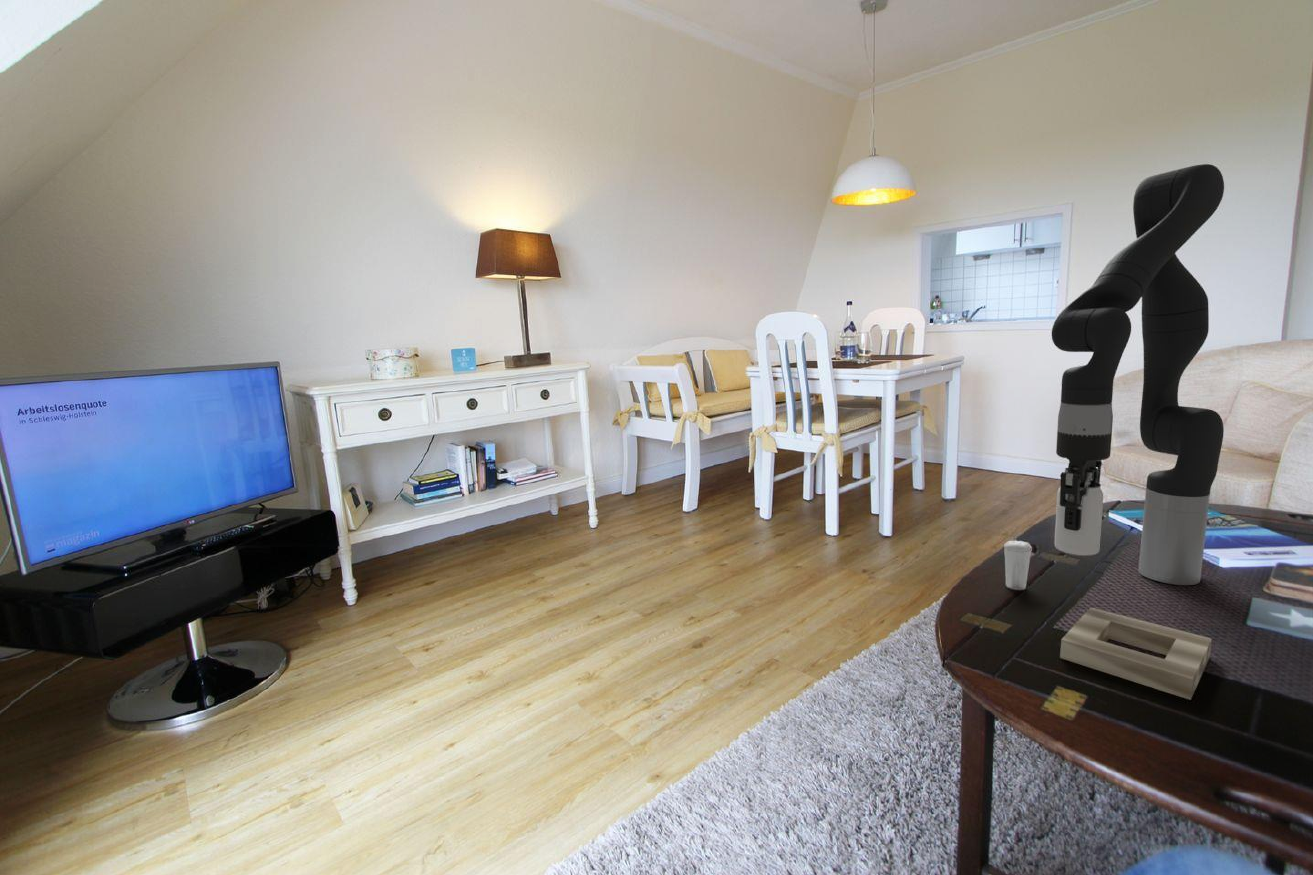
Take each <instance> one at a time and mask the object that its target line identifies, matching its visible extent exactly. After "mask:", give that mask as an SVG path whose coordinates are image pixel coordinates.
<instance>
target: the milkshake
mask: <svg viewBox="0 0 1313 875" xmlns="http://www.w3.org/2000/svg"><path fill="white" fill-rule="evenodd" d="M1012 533H1013V535H1012V536H1013V540H1008V541H1006V542H1005V543H1004V544H1003V549H1004V550H1003V552H1004V568H1005V574H1004V575H1005V586H1006V588H1008V589H1010V590H1015V591H1024V590H1025V589H1026V588H1027V582H1028V575H1029V569H1030V568H1029V567H1030V561H1031V558H1032V557H1031V556H1032V551H1033V547H1032V546H1031V544H1030V543H1029V542H1027V541H1022V540H1017V532H1016V531H1013V532H1012Z"/></svg>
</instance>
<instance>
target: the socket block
mask: <svg viewBox="0 0 1313 875" xmlns="http://www.w3.org/2000/svg"><path fill="white" fill-rule="evenodd" d="M1109 640H1111V641H1115V642H1119V643H1122V644H1125V645H1129V646H1132V647H1136V648H1138V649H1143V650H1147V651H1151V652H1153V653H1156V654H1160V655H1164V656H1166V657H1165V658H1163V657H1162V658H1161V657H1158V656H1156V655H1152V654H1151V655H1150V654H1148V653H1144V652H1140V651H1137V650H1134V649H1130V648H1127V647H1123V646H1120V645H1116V644H1113V643H1110V642H1108V641H1109ZM1212 642H1213V641H1212V638H1210V637H1206V636H1203V635H1199V634H1195V633H1192V632H1188V631H1184V630H1180V629H1175V628H1173V627H1169V626H1164V625H1161V624H1157V623H1153V622H1149V621H1145V620H1143V619H1142V620H1141V619H1137V618H1134V617H1129V616H1125V615H1121V614H1119V613H1113V612H1111V611H1106V610H1102V609H1098V608H1096V607H1095V608H1094V607H1089V609H1087V610H1086V612H1085V613H1084V614H1083V615H1081V617H1080V618H1079V619H1078V621H1077V622H1076V623H1075V624H1074V625H1073V626H1072V627H1071V628H1070V629H1069V631H1068V632H1067V633H1066V634H1065V635H1064V636H1063V637H1062V638H1061V640H1060V651H1059V652H1060V653H1059V658H1060V659H1062V660H1065V661H1069V662H1071V663H1074V664H1078V665H1081V666H1084V667H1086V668H1090V669H1093V670H1097V671H1100V672H1102V673H1106V674H1109V675H1111V676H1115V677H1119V678H1122V679H1124V680H1127V681H1131V682H1134V683H1136V684H1140V685H1143V686H1145V687H1150V688H1153V689H1155V690H1157V691H1161V692H1165V693H1168V694H1171V695H1173V696H1177V697H1180V698H1184V699H1186V700H1190V701H1191V700H1192V698H1193V695H1194V693H1195V691H1196V689H1197V687H1198V684H1199V682H1200V681H1201V678H1202V675H1203V673H1204V672H1205V669H1206V666H1207V664H1208V662H1209V660H1210V656H1211V648H1212Z"/></svg>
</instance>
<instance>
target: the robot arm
mask: <svg viewBox="0 0 1313 875" xmlns="http://www.w3.org/2000/svg"><path fill="white" fill-rule="evenodd" d="M1224 193H1225V180H1224V176H1223V174H1222V172H1221V170H1220V169H1219V168H1218V167H1217V166H1215V165H1213V164H1211V163H1210V164H1208V163H1205V164H1203V163H1202V164H1195V165H1191V166H1187V167H1183V168H1179V169H1174V170H1171V171H1167V172H1166V171H1165V172H1163V173H1159V174H1155V175H1151V176H1148V177H1146V178H1144V179H1142V180H1141V181H1140V182H1139V184H1138V185H1137V186H1136V189H1135V192H1134V195H1133V202H1132V203H1133V206H1132V211H1133V222H1134V228H1135V229H1134V230H1135V236H1136V239H1134V241H1132V242H1131V243H1129V244H1127V245H1126V246H1124V247H1123V248H1122V249H1121V250H1120V251H1119V252H1117V253H1116V254H1115V255H1114V256H1113V257H1112V258H1111V259H1110V260H1109V262H1107V263H1106V265H1105V267H1104V268H1103V269H1102V271H1101V272H1100V273H1099V275H1098V277H1097V278H1096V280H1095V281H1094V283H1093V284H1092V286H1090V287H1089V288H1087V289H1086V290H1085V291H1084V292H1083V293H1081V294H1080V295H1078V297H1077V298H1075V299H1074V300H1073V301H1072V302H1070V303H1069V304H1068V305H1067V306H1066V307H1065V308H1063V310H1062V311H1061V312H1060V313H1059V314H1058V316H1057V317H1056V319H1055V320H1054V322H1053V326H1052V329H1051V340H1052V343H1053V344H1054V346H1055V347H1056V348H1057V349H1058V350H1061V351H1063V352H1067V353H1092V355H1091V358H1090V359H1089V361H1088V363H1087V364H1085V365H1078V366H1074V367H1070V368H1067V369H1066V370H1064V372H1063V373H1062V378H1061V391H1060V393H1061V394H1060V403H1059V404H1060V406H1059V411H1058V416H1057V430H1056V431H1057V432H1056V447H1055V448H1056V449H1055V450H1056V451H1055V452H1056V455H1057V456H1058V457H1060V458H1063V459H1067V460H1068V464H1067V466H1068V467H1065V469H1064V472H1063V471H1062V472H1061V473H1060V486H1059V487H1060V506H1063V507H1065V519H1064V527H1065V529H1068V530H1074V531H1078V530H1079V529H1080V528H1081V512H1082V508H1083V498H1084V497H1086V496H1087V495H1088V492H1089V488H1090V484H1091V482H1092V484H1095V485H1096V482H1097V483H1099V484H1101V483H1100V482H1101V471H1102V465H1103V462H1102V461H1104V460H1107V459H1109V458H1110V456H1111V452H1112V450H1111V449H1112V436H1113V421H1114V420H1113V419H1114V418H1113V417H1114V414H1113V393H1114V392H1113V391H1114V379H1115V377H1116V373H1117V370H1118V369H1119V368H1118V367H1119V364H1120V363H1121V359H1122V356H1123V354H1124V353H1125V352H1124V351H1126V350H1125V349H1126V347H1127V345H1128V342H1129V340H1130V337H1131V334H1132V323H1131V318H1130V316H1129V314H1127V312H1129V311H1131V310H1132V309H1134V307H1135V306H1136V305H1137V304H1139V302H1140V300H1141V329H1142V330H1141V333H1142V344H1143V382H1142V394H1141V396H1142V397H1141V407H1140V418H1139V432H1140V439H1141V442H1142V444H1143V445H1144V446H1145V448H1147V449H1148V450H1150V451H1153V452H1156V453H1161V454H1166V455H1173V456H1177V457H1176V463H1175V465H1174V467H1172V468H1170V469H1164V470H1157V471H1152V472H1150V473H1149V474H1148V476H1147V479H1146V484H1145V485H1146V486H1145V487H1146V488H1145V495H1144V496H1145V498H1144V508H1143V517H1142V518H1143V520H1142V531H1141V541H1140V549H1139V550H1140V551H1139V560H1138V569H1137V571H1138V573H1139V574H1140V575H1141V576H1143V577H1145V578H1148V579H1150V580H1153V581H1156V582H1160V583H1163V584H1169V585H1176V586H1193V585H1197V584H1199V583H1200V582H1201V576H1202V567H1203V559H1204V550H1205V543H1206V542H1205V541H1206V533H1207V525H1208V524H1207V523H1208V514H1209V507H1210V506H1209V504H1210V503H1209V502H1210V496H1211V489H1212V485H1213V484H1214V481H1215V479H1216V476H1217V473H1218V468H1219V462H1220V455H1221V452H1222V451H1221V450H1222V446H1223V441H1224V440H1223V439H1224V421H1223V419H1222V417H1221V415H1220V414H1219V413H1218V412H1217V411H1215V410H1213V409H1209V408H1203V407H1195V406H1194V407H1193V406H1184V405H1183V406H1181V405H1179V398H1178V397H1179V396H1178V394H1179V388H1180V387H1179V386H1180V381H1181V378H1182V376H1183V374H1184V372H1185V371H1186V369H1187V368H1188V366H1189V364H1190V363H1191V362H1192V361H1193V359H1194V358H1195V357H1196V356H1197V354H1198V353H1199V351H1200V350H1201V348H1202V347H1203V345H1204V344H1205V343H1206V340H1207V338H1208V335H1209V331H1210V330H1209V325H1210V324H1209V320H1210V319H1209V314H1210V313H1209V310H1210V309H1209V299H1208V298H1209V297H1208V294H1207V293H1206V291H1205V290H1204V288H1203V286H1202V285H1201V283H1199V281H1198V280H1197V279H1196V277H1195V276H1194V275H1193V274H1192V273H1191V272H1190V271H1189V270H1188V269H1187V267H1185V265H1184V264H1183V263H1182V261H1180V259H1179V257H1178V256H1177V253H1178V250H1180V249H1181V247H1182V246H1184V245H1185V243H1186V242H1188V240H1190V239H1191V238H1192V237H1193V236H1194V234H1196V232H1198V230H1199V229H1200V228H1201V227H1202V226H1203V225H1204V224H1205V223H1206V222H1207V221H1209V219H1210V218H1211V217H1213V215H1214V214H1215V212H1216V211H1217V209H1218V208H1219V206H1220V204H1221V202H1222V200H1223V197H1224ZM1080 487H1084V489H1083V490H1081V491H1080ZM1070 495H1074V501H1072V500H1069V496H1070Z"/></svg>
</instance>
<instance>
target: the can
mask: <svg viewBox="0 0 1313 875" xmlns="http://www.w3.org/2000/svg"><path fill="white" fill-rule="evenodd" d="M1101 486H1102V485H1101V483H1097V482H1096V485H1095V484H1092V482H1091V484H1090V488H1089V492H1088V495H1087V496H1086V497H1084V498H1083V508H1082V512H1081V528H1080V529H1079V530H1078V531H1074V530H1068V529H1065V527H1064V519H1065V507H1063V506H1060V486H1059V487H1058V489H1057V495H1056V508H1055V509H1056V511H1055V528H1054V529H1055V530H1054V547H1055V548H1056V550H1058V551H1059V552H1061V553H1063V554H1067V555H1071V556H1076V557H1077V556H1078V557H1091V556H1093V557H1094V556H1096V555H1097V554H1098V553H1099V552H1100V548H1101V538H1102V536H1101V534H1102V521H1103V520H1102V519H1103V508H1104V507H1103V505H1104V493H1103V491H1102V488H1101ZM1083 489H1084V487H1080V491H1081V490H1083ZM1069 500H1072V501H1074V495H1070V496H1069Z"/></svg>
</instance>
